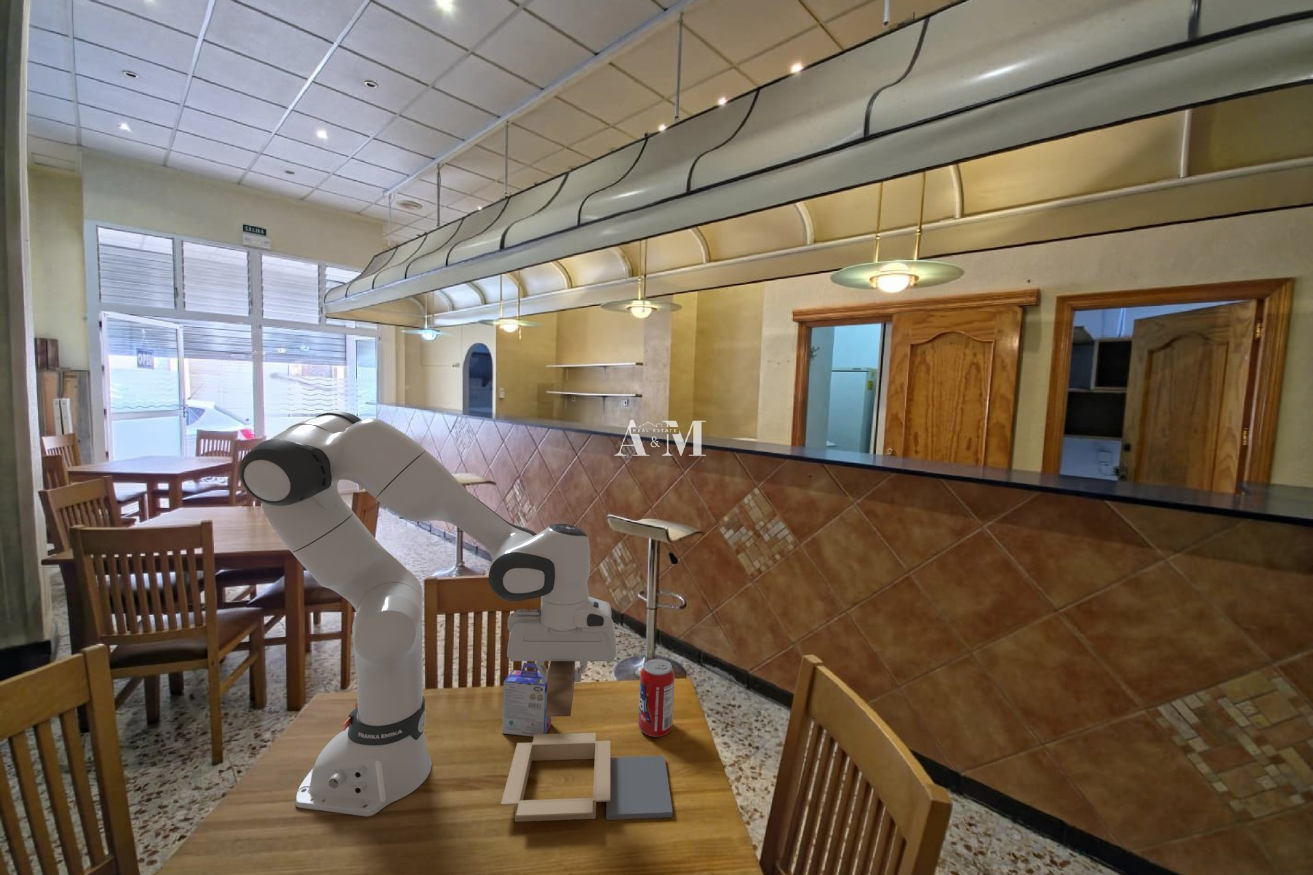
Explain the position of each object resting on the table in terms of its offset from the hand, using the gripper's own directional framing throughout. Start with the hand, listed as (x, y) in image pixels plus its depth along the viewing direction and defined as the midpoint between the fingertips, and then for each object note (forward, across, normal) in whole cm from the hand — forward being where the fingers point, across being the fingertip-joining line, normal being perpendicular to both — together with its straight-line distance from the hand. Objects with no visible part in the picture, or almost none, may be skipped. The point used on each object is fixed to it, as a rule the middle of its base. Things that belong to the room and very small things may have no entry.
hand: (561, 680), depth 93 cm
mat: (+21, +16, -1) cm, 26 cm away
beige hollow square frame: (+22, 0, 0) cm, 22 cm away
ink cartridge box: (+22, -8, +17) cm, 29 cm away
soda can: (+21, +21, +16) cm, 34 cm away
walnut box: (+4, 0, 0) cm, 4 cm away
